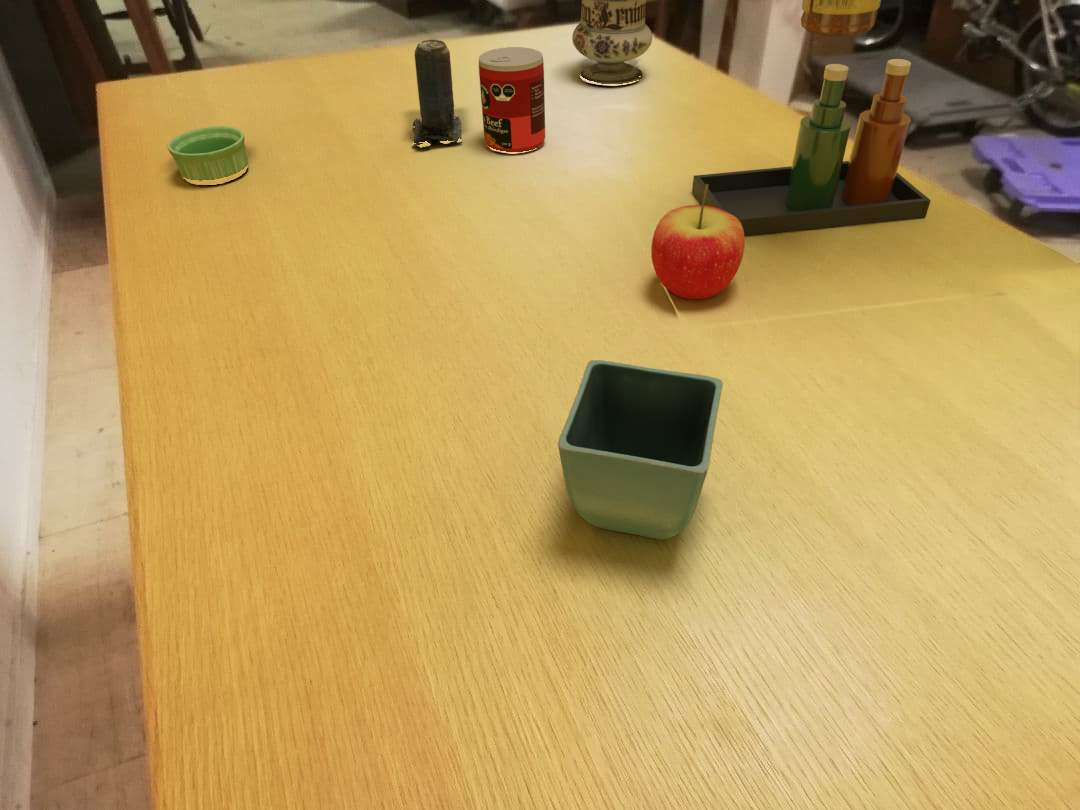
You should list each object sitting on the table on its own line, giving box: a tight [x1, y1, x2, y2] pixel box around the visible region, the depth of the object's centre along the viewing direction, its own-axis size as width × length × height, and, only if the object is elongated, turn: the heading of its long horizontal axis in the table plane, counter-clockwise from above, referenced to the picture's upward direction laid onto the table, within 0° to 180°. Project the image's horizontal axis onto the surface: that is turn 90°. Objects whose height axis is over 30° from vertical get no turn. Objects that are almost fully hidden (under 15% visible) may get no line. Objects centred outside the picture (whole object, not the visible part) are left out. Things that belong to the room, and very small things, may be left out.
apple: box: [650, 184, 746, 300], centre depth 71 cm, size 8×8×10 cm
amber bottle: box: [841, 58, 912, 206], centre depth 82 cm, size 5×5×14 cm
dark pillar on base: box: [412, 39, 462, 147], centre depth 102 cm, size 9×8×12 cm
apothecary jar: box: [571, 0, 653, 84], centre depth 116 cm, size 12×12×18 cm
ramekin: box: [167, 125, 249, 181], centre depth 97 cm, size 9×9×4 cm
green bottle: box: [785, 63, 852, 211], centre depth 82 cm, size 5×5×14 cm
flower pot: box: [557, 359, 723, 541], centre depth 51 cm, size 9×9×9 cm
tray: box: [691, 160, 932, 238], centre depth 86 cm, size 22×11×2 cm, turn 99°
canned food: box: [478, 46, 546, 152], centre depth 99 cm, size 8×8×11 cm
